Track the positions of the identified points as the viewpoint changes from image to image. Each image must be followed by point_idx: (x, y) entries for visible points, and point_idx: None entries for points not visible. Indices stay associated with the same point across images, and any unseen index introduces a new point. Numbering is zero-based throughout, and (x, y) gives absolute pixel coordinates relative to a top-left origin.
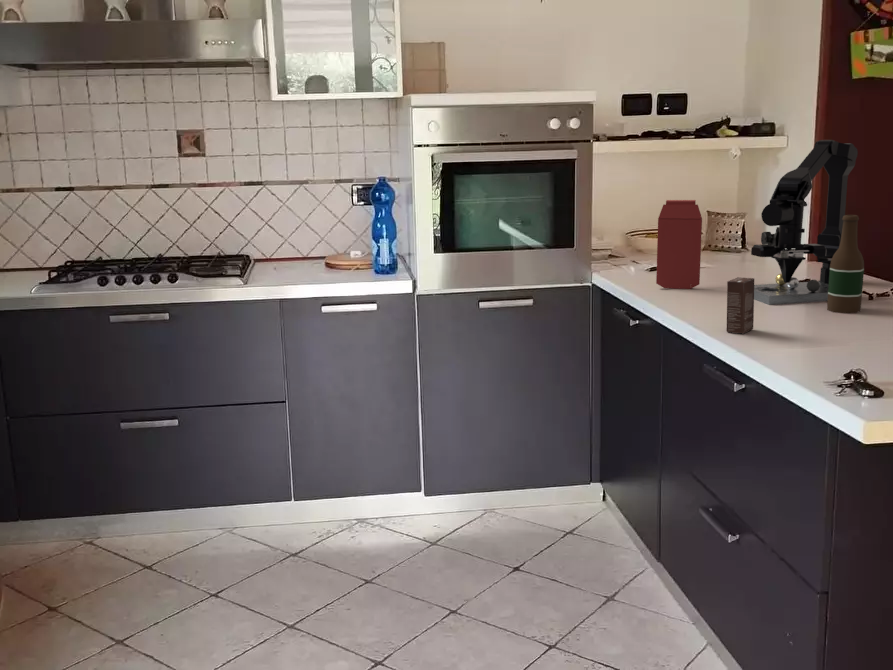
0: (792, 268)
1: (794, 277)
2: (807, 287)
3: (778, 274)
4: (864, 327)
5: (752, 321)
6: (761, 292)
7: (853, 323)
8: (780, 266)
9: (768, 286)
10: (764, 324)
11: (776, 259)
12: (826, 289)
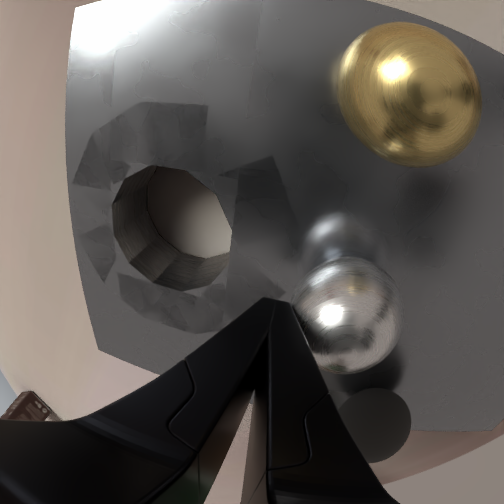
0: (244, 481)
1: (351, 367)
2: (339, 410)
3: (390, 58)
4: (227, 495)
5: (43, 420)
6: (85, 275)
7: (230, 487)
8: (147, 405)
9: (231, 97)
10: (70, 409)
11: (29, 441)
12: (481, 379)
